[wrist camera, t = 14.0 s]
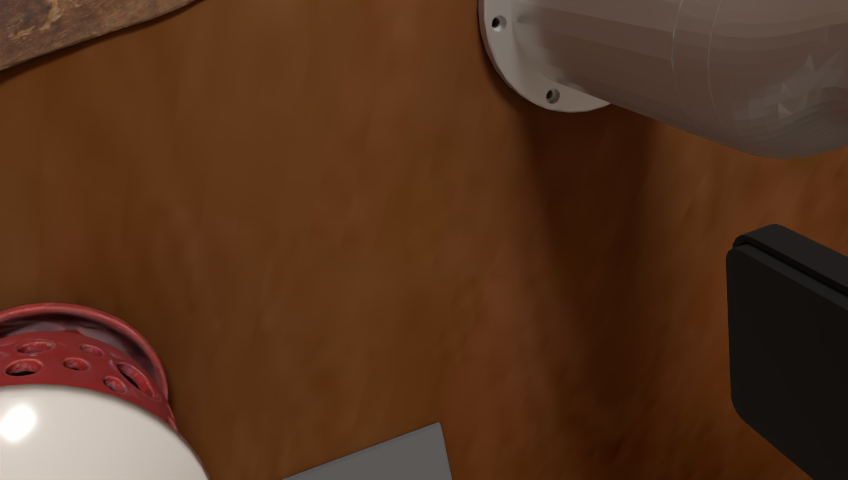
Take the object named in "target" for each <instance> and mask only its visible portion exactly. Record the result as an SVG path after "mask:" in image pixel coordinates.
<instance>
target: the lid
mask: <svg viewBox="0 0 848 480" xmlns="http://www.w3.org/2000/svg"><path fill="white" fill-rule="evenodd" d="M0 480H210V478H209V475H208V473H207V471H206V469H205V467H204V465H203V463H202V461H201V459H200V457H199V456H198V455H197V453H196V452H195V451H194V449H193V448H192V446H191V445H190V444H189V443H188V442H187V441H186V440H185V439H184V438H183V437H182V436H181V435H180V434H179V433H178V432H177V430H176V429H174V428H173V427H172V426H170V425H169V424H168V423H166V422H165V421H164V420H162V419H161V418H160V417H158V416H157V415H155V414H153V413H151V412H150V411H148V410H146V409H144V408H142V407H141V406H139V405H137V404H134V403H132V402H129V401H127V400H124V399H122V398H119V397H117V396H114V395H110V394H107V393H103V392H99V391H96V390H92V389H86V388H80V387H73V386H67V385H52V384H24V385H7V386H1V387H0Z"/></svg>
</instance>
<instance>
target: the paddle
mask: <svg viewBox="0 0 848 480" xmlns="http://www.w3.org/2000/svg"><path fill="white" fill-rule="evenodd" d="M193 1H195V0H0V71H2V70H5V69H8V68H10V67H13V66H16V65H18V64H21V63H24V62H26V61H29V60H32V59H34V58H37V57H40V56H43V55H46V54H49V53H51V52H54V51H57V50H60V49H63V48H66V47H69V46H72V45H75V44H78V43H81V42H84V41H87V40H89V39H92V38H96V37H99V36H102V35H104V34H108V33H110V32H113V31H116V30H119V29H122V28H127V27H130V26H133V25H137V24H140V23H142V22H146V21H149V20H152V19H155V18H157V17H160V16H162V15H165V14H168V13H170V12H173V11H175V10H177V9H179V8H181V7H183V6H185V5H187V4H190V3H192V2H193Z"/></svg>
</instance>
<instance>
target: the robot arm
mask: <svg viewBox="0 0 848 480" xmlns="http://www.w3.org/2000/svg"><path fill="white" fill-rule="evenodd" d="M478 12H479V23H480V31H481V35H482V39H483V42H484V46H485V49H486V52H487V54H488V56H489V58H490V60H491V62H492V64H493V66H494V68H495V70H496V71H497V73H498V74H499V75H500V76H501V78H502V79H503V80H504V82H505V83H506V84H507V85H508V86H509V87H510V88H511V89H513V90H514V91H515V92H516V93H517V94H519V95H520V96H521V97H523V98H525V99H527V100H529V101H530V102H532V103H534V104H536V105H539V106H541V107H544V108H546V109H549V110H553V111H560V112H567V113H575V112H588V111H591V110H595V109H598V108H602V107H605V106H607V105H609V104H611V103H612V104H614V105H617V106H620V107H622V108H625V109H628V110H630V111H633V112H636V113H638V114H641V115H644V116H646V117H649V118H652V119H654V120H657V121H660V122H662V123H665V124H668V125H670V126H673V127H676V128H678V129H681V130H684V131H686V132H689V133H692V134H694V135H697V136H700V137H702V138H705V139H708V140H710V141H713V142H716V143H719V144H722V145H725V146H728V147H730V148H733V149H736V150H739V151H741V152H745V153H748V154H752V155H756V156H759V157H766V158H776V159H791V158H801V157H809V156H814V155H819V154H822V153H826V152H829V151H832V150H835V149H838V148H841V147H843V146H846V145H848V0H479V4H478ZM494 18H495V19H496V24H495V26H493V27H492V21H493V19H494ZM548 91H549V95H548V96H547V97H546V95H547V93H548ZM726 275H727V302H728V328H729V355H730V381H731V398H732V402H733V405H734V408H735V410H736V412H737V413H738V415H739V416H740V417H741V418H742V419H743V420H744V421H745V422H746V423H747V424H748V425H749V426H750V427H752V428H753V429H754V430H755V431H756V432H758V433H759V434H760V435H761V436H762V437H764V438H765V439H766V440H767V441H768V442H770V443H771V444H772V445H773V446H774V447H775V448H777V449H778V450H779V451H780V452H781V453H783V454H784V455H785V456H786V457H787V458H789V459H790V460H791V461H792V462H793V463H795V464H796V465H797V466H798V467H799V468H800V469H802V470H803V471H804V472H805V473H806V474H808V475H809V476H810V477H811V478H812V479H814V480H848V257H846V256H844V255H842V254H840V253H838V252H836V251H834V250H832V249H829V248H827V247H825V246H823V245H821V244H819V243H817V242H815V241H813V240H811V239H809V238H807V237H804V236H802V235H800V234H798V233H796V232H794V231H792V230H790V229H788V228H786V227H784V226H781V225H778V224H772V225H768V226H765V227H762V228H760V229H757V230H754V231H751V232H748V233H746V234H743V235H740V236H739V237H737V238H736V239H735V241H734V243H733V249H731V250H730V251H728V253H727V256H726Z"/></svg>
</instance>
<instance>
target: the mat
mask: <svg viewBox="0 0 848 480" xmlns="http://www.w3.org/2000/svg"><path fill="white" fill-rule="evenodd" d="M282 480H452V478H451V473H450V468H449V463H448V459H447V454H446V449H445V444H444V439H443V434H442V429H441V425H440V423H439V422H437V423H435V424H432V425H429V426H426V427H424V428H421V429H418V430H416V431H413V432H410V433H407V434H405V435H402V436H399V437H396V438H394V439H391V440H388V441H386V442H383V443H380V444H377V445H375V446H372V447H369V448H366V449H364V450H361V451H358V452H356V453H353V454H350V455H347V456H345V457H342V458H339V459H337V460H334V461H331V462H328V463H326V464H323V465H320V466H317V467H315V468H312V469H309V470H307V471H304V472H301V473H298V474H296V475H293V476H290V477H287V478H285V479H282Z"/></svg>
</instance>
